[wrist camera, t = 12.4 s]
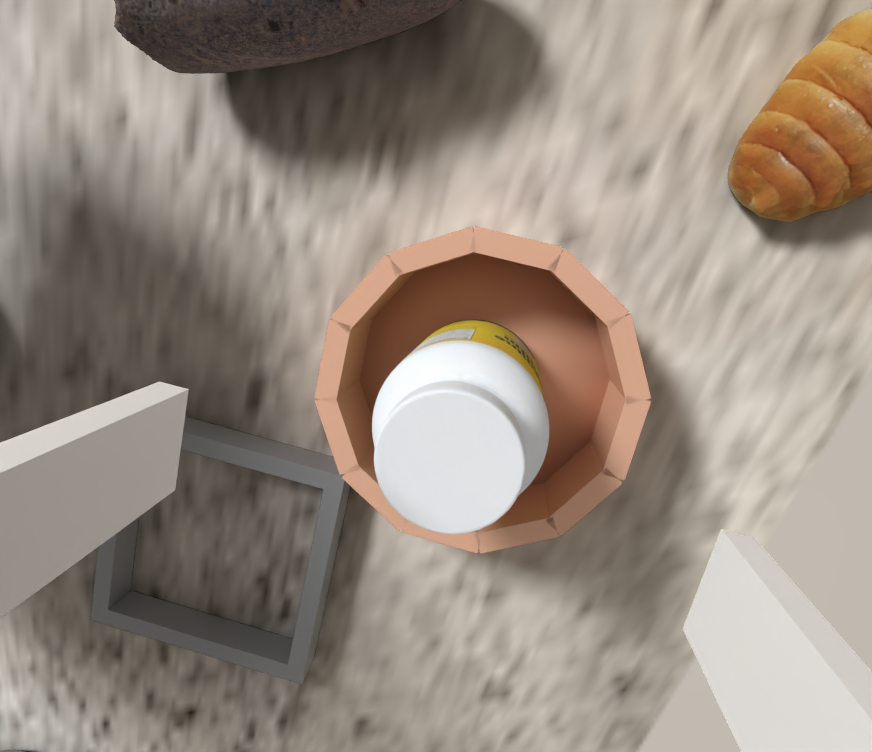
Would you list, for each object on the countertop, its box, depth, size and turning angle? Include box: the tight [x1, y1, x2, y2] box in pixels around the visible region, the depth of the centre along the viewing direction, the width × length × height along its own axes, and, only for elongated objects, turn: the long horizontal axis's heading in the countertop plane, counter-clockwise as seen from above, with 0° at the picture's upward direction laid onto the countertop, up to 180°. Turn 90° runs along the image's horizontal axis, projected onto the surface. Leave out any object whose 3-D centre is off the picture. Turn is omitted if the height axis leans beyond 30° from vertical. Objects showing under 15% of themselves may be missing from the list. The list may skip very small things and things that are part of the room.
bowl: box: [314, 226, 651, 554], centre depth 27 cm, size 14×14×5 cm
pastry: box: [728, 9, 872, 222], centre depth 24 cm, size 9×7×4 cm
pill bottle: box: [372, 319, 549, 534], centre depth 23 cm, size 6×6×12 cm
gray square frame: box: [91, 417, 351, 684], centre depth 32 cm, size 13×13×2 cm
